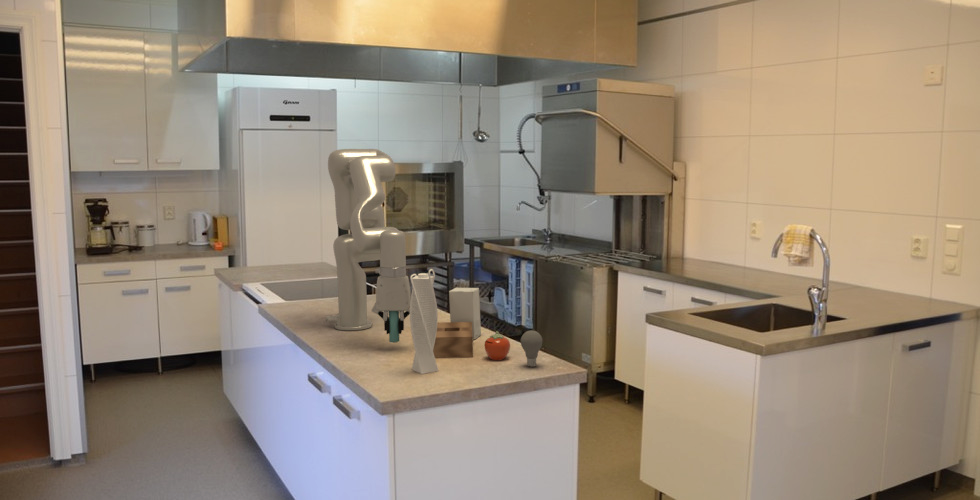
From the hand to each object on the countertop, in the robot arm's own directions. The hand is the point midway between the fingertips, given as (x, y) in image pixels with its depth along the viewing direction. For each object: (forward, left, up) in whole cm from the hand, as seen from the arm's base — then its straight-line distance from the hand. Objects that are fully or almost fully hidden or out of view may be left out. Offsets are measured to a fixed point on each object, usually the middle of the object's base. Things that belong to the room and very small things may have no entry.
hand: (394, 332), depth 236 cm
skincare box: (+21, +14, -6) cm, 26 cm away
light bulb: (+39, -22, -5) cm, 45 cm away
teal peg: (0, 0, -3) cm, 3 cm away
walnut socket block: (+17, -1, -5) cm, 18 cm away
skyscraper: (+10, -24, -5) cm, 26 cm away
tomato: (+30, -13, -6) cm, 33 cm away
